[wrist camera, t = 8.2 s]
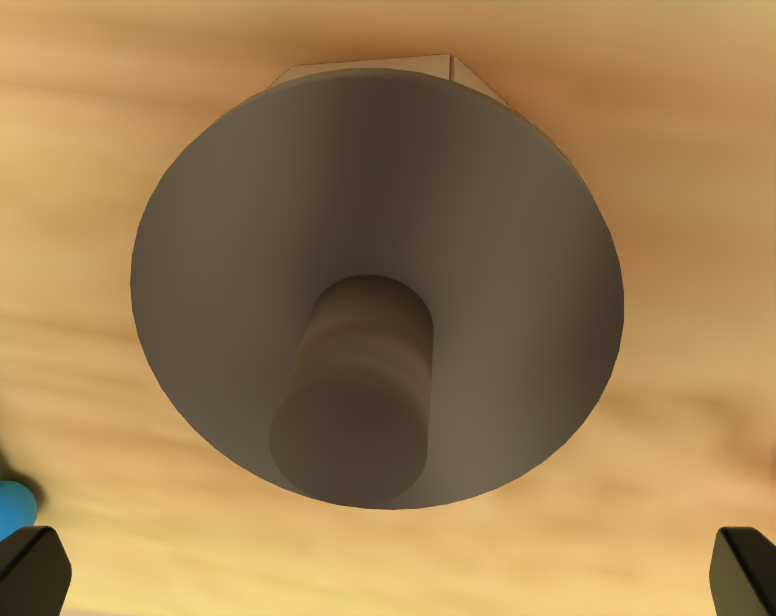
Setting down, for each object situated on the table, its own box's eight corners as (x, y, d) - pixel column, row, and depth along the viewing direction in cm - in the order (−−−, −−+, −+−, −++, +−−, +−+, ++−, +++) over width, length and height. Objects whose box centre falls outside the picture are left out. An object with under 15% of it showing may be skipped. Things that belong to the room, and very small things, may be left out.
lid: (634, 46, 13) (721, 110, 9) (600, 481, 19) (644, 653, 14) (89, 88, 15) (-66, 160, 10) (202, 483, 20) (131, 643, 16)
